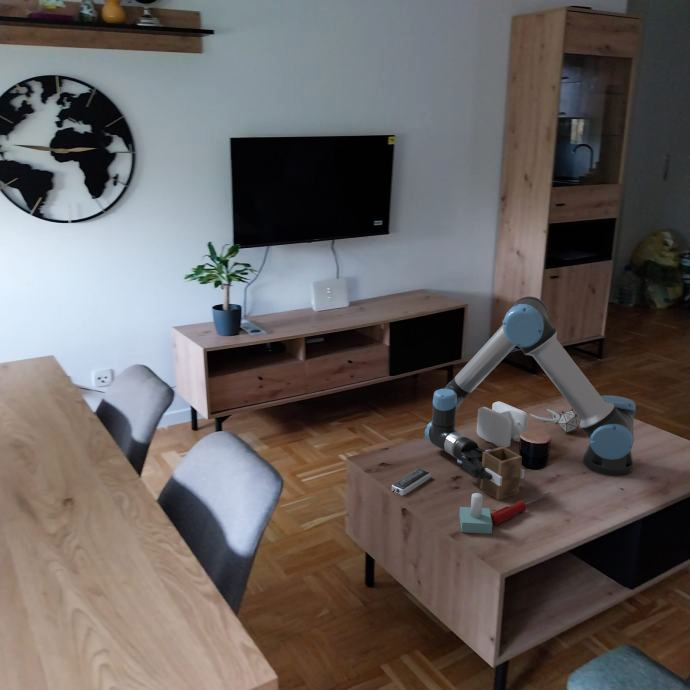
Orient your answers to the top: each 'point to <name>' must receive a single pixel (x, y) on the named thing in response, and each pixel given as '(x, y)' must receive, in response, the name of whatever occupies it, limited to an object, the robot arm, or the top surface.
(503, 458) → the brown tall open box
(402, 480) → the multiport hub
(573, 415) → the game die
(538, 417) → the pliers
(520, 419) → the cable organizer
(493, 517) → the screwdriver
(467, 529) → the post stand
